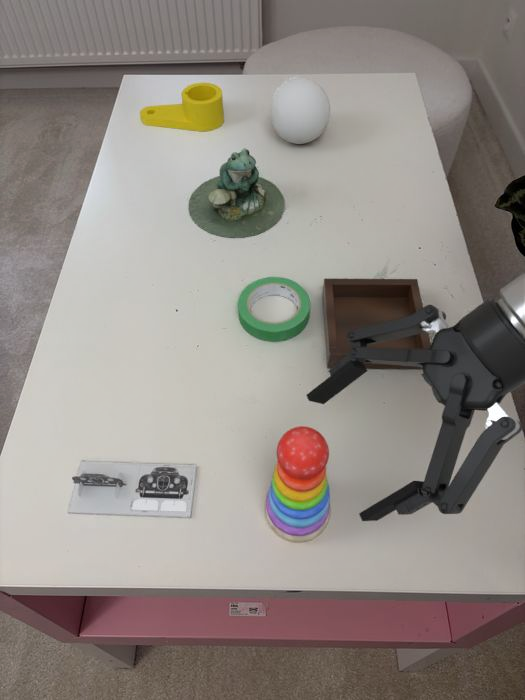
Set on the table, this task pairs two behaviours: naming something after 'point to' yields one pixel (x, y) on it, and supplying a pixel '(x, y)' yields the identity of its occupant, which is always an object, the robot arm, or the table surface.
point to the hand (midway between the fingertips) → (339, 454)
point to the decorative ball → (299, 110)
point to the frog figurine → (237, 200)
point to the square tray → (369, 314)
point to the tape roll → (274, 329)
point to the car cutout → (133, 489)
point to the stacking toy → (299, 486)
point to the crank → (189, 110)
